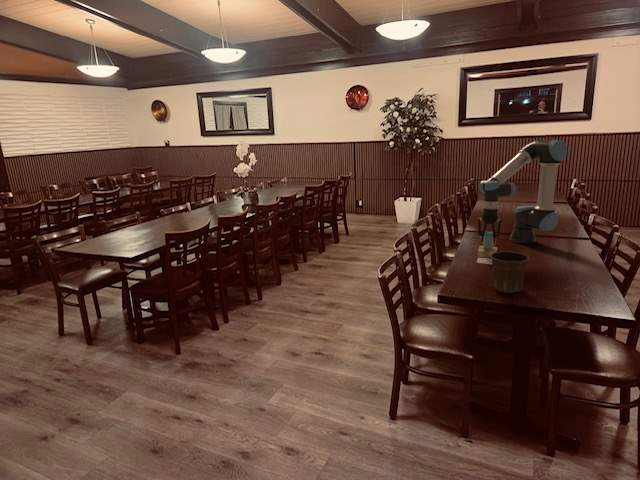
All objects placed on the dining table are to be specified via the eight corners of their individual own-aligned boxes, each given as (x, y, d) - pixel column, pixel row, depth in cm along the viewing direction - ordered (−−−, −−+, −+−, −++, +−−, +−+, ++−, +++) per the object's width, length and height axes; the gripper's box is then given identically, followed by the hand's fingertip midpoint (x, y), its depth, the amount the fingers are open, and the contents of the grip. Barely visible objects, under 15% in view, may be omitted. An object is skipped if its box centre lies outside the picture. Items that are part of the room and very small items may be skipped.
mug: (488, 250, 249) (488, 234, 251) (475, 252, 259) (475, 236, 260) (503, 251, 255) (502, 235, 256) (490, 252, 264) (489, 237, 265)
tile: (494, 260, 239) (494, 259, 238) (493, 264, 231) (493, 263, 231) (478, 258, 242) (478, 257, 242) (476, 263, 234) (476, 262, 234)
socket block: (496, 253, 250) (497, 247, 249) (495, 258, 241) (496, 251, 240) (479, 252, 254) (479, 245, 253) (477, 256, 245) (478, 250, 244)
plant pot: (488, 293, 193) (490, 260, 189) (488, 281, 207) (490, 250, 203) (527, 297, 187) (530, 262, 183) (524, 284, 202) (527, 252, 197)
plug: (491, 254, 248) (493, 231, 245) (491, 256, 245) (492, 233, 241) (483, 254, 250) (485, 231, 247) (483, 256, 246) (484, 233, 243)
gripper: (474, 208, 240) (472, 247, 246) (506, 210, 233) (503, 250, 239) (475, 206, 247) (473, 244, 253) (506, 207, 240) (503, 246, 246)
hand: (487, 247), depth 246 cm, fingers closed on plug, 4 cm apart
